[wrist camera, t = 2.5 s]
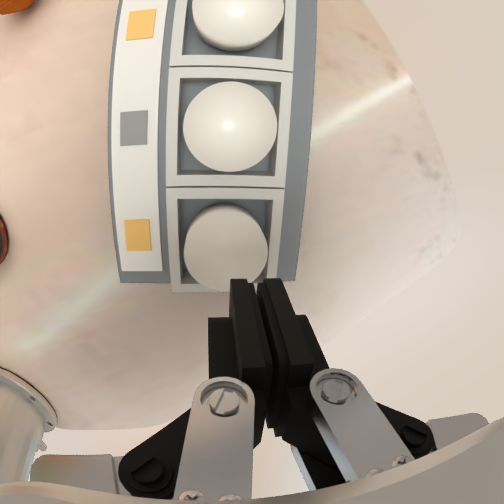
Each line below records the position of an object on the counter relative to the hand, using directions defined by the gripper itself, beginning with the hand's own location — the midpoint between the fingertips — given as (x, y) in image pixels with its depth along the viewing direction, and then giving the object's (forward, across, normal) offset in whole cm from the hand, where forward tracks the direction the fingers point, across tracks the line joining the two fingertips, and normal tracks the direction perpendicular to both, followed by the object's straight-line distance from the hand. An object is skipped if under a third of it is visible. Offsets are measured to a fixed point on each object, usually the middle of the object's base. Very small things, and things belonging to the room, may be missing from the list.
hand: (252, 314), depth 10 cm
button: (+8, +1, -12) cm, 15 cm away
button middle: (+8, +1, -6) cm, 10 cm away
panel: (+12, +2, -6) cm, 13 cm away
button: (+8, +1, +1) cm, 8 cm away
